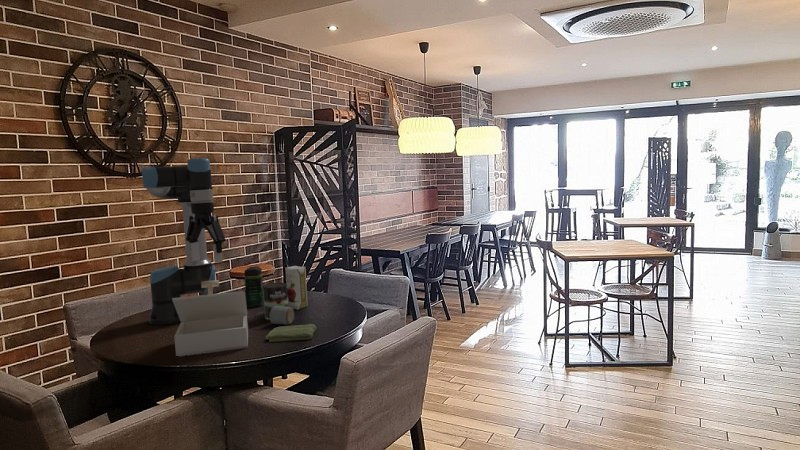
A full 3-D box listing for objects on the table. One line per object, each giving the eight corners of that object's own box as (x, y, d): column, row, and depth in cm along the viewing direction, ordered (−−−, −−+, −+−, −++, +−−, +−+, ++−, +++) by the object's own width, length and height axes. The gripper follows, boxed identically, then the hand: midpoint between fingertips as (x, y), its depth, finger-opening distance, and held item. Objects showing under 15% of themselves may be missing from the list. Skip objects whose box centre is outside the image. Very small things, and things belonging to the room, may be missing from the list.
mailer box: (182, 341, 197) (181, 322, 196) (248, 333, 203) (246, 314, 203) (176, 356, 180) (174, 336, 179) (247, 347, 186) (246, 327, 185)
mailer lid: (180, 321, 196) (181, 301, 201) (247, 314, 203) (246, 294, 207) (172, 300, 181) (172, 278, 186) (244, 293, 188) (243, 272, 192)
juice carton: (297, 304, 245) (295, 265, 243) (310, 306, 240) (307, 266, 238) (285, 308, 239) (282, 267, 237) (298, 310, 234) (295, 269, 232)
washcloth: (272, 332, 205) (272, 324, 204) (317, 330, 205) (316, 322, 204) (264, 343, 192) (264, 335, 191) (312, 341, 192) (311, 333, 191)
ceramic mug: (288, 326, 210) (287, 308, 209) (269, 326, 212) (268, 307, 211) (299, 319, 220) (298, 302, 219) (281, 319, 222) (280, 301, 221)
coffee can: (291, 317, 224) (289, 285, 222) (268, 321, 219) (265, 288, 217) (285, 312, 233) (283, 281, 231) (262, 315, 228) (260, 284, 226)
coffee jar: (262, 307, 243) (259, 268, 241) (245, 308, 242) (242, 269, 240) (265, 302, 253) (262, 264, 251) (248, 303, 252) (245, 265, 250)
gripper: (172, 203, 187) (177, 261, 189) (214, 202, 173) (219, 264, 175) (191, 202, 193) (196, 258, 195) (232, 200, 179) (237, 261, 181)
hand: (207, 261), depth 185 cm, fingers open, 13 cm apart
